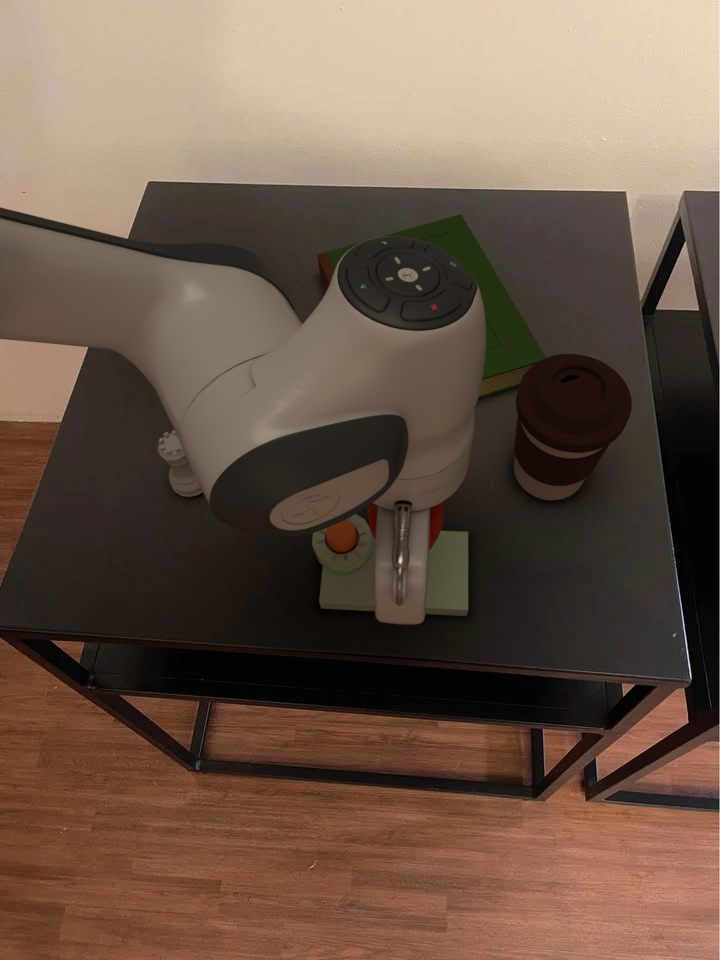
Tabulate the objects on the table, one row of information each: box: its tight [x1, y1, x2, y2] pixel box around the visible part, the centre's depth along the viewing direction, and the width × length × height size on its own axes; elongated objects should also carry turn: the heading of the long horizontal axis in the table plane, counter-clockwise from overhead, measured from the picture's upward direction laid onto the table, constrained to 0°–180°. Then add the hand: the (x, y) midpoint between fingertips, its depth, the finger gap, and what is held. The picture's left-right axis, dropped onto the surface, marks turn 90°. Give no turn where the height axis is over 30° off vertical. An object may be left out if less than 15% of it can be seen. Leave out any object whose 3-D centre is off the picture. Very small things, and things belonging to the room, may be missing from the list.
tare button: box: [326, 519, 357, 553], centre depth 69 cm, size 3×3×2 cm
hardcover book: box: [317, 213, 547, 400], centre depth 84 cm, size 25×19×4 cm
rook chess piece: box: [157, 430, 203, 498], centre depth 74 cm, size 4×4×8 cm
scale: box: [311, 513, 469, 617], centre depth 69 cm, size 15×9×4 cm, turn 86°
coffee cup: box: [513, 353, 633, 501], centre depth 69 cm, size 10×10×15 cm
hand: (405, 529), depth 61 cm, fingers closed on apple, 6 cm apart
